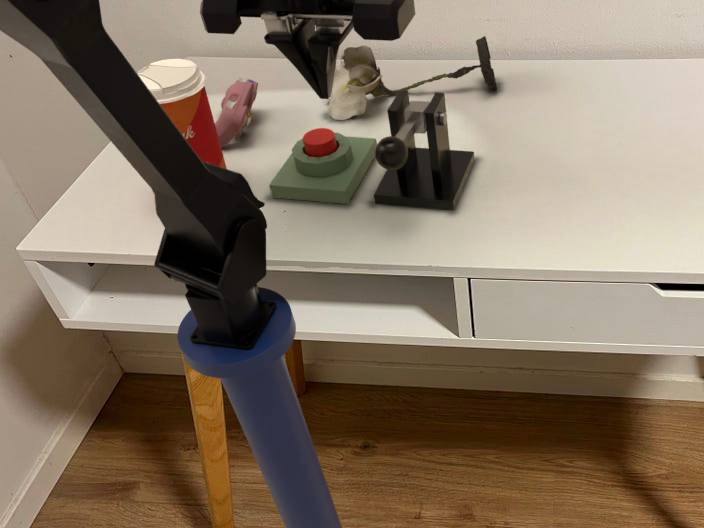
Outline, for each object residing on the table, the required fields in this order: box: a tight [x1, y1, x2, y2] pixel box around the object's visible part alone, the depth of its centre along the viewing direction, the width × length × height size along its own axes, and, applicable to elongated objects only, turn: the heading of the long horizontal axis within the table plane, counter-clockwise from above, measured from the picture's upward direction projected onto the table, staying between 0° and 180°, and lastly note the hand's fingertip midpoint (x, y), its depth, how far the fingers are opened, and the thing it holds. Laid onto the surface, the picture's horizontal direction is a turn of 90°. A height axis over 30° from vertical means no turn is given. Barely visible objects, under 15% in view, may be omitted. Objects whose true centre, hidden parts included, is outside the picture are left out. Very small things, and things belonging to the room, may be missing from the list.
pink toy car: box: [214, 76, 259, 148], centre depth 98 cm, size 10×5×7 cm, turn 179°
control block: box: [269, 132, 378, 205], centre depth 90 cm, size 11×9×4 cm
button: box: [302, 127, 337, 157], centre depth 89 cm, size 4×4×2 cm
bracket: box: [373, 89, 475, 211], centre depth 86 cm, size 10×9×10 cm
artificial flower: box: [327, 35, 498, 121], centre depth 100 cm, size 9×22×10 cm, turn 96°
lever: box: [375, 100, 431, 171], centre depth 80 cm, size 12×3×3 cm, turn 167°
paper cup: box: [136, 58, 228, 169], centre depth 86 cm, size 8×8×14 cm
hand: (326, 97), depth 77 cm, fingers closed
